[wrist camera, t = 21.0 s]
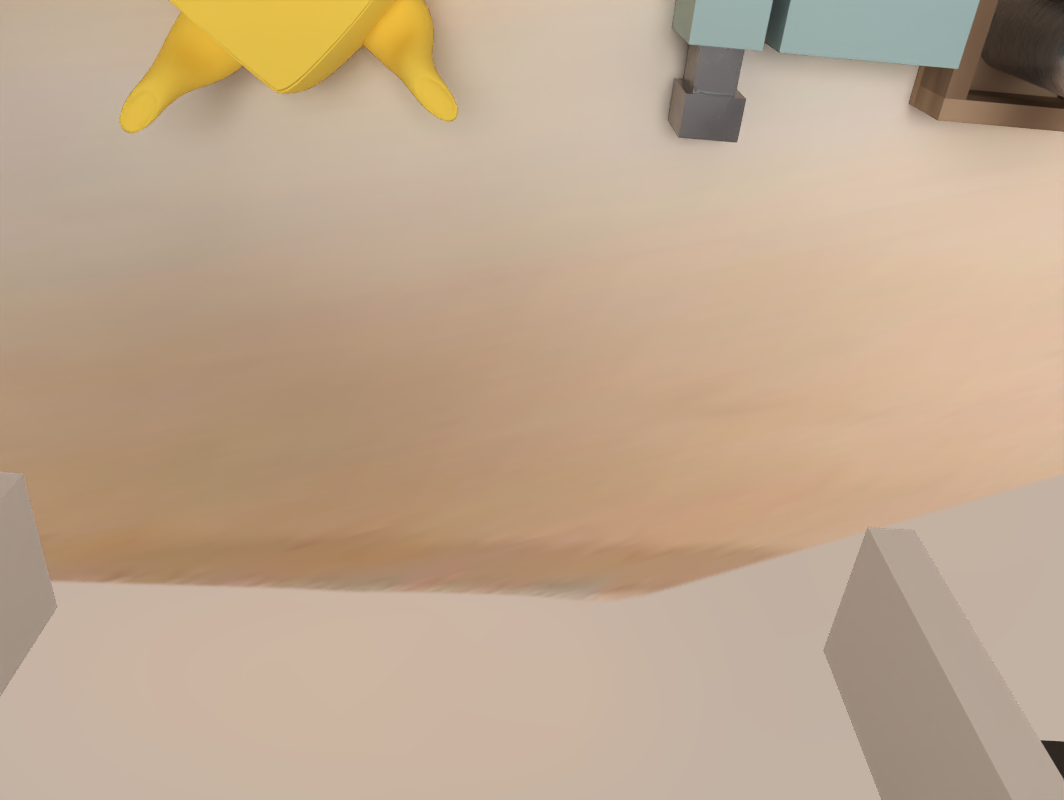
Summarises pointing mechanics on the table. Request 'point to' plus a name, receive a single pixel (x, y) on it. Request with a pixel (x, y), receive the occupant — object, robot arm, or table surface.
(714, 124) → the block
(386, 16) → the teapot
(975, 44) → the brown wooden tray
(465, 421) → the table surface
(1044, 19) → the cylinder
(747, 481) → the table surface
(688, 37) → the chuck block
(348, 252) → the table surface
